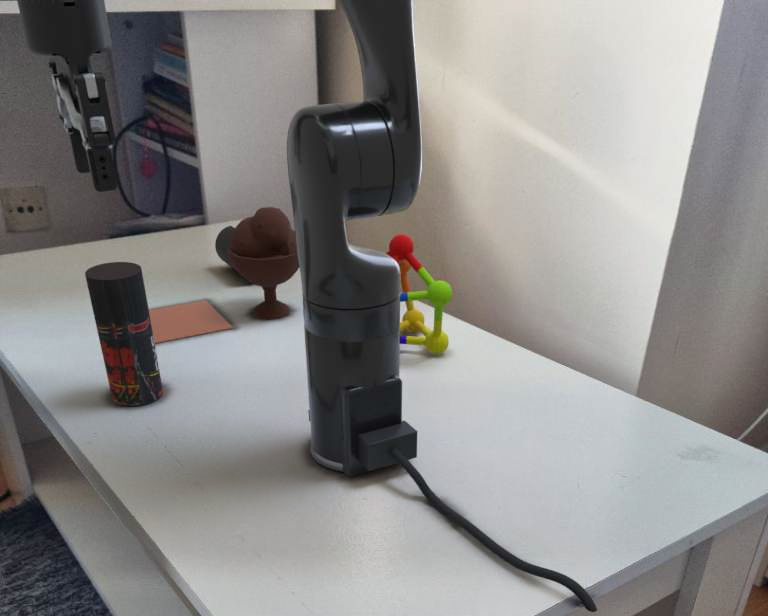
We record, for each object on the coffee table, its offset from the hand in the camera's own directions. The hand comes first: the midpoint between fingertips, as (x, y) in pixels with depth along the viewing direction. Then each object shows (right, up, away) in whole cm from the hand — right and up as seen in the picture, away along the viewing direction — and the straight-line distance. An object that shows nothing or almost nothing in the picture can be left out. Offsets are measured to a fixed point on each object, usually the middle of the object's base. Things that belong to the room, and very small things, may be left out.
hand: (96, 180), depth 82 cm
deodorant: (0, -20, +14) cm, 25 cm away
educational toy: (+31, -12, +25) cm, 42 cm away
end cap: (+7, +5, +49) cm, 50 cm away
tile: (0, -7, +33) cm, 33 cm away
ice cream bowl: (+13, -5, +36) cm, 38 cm away
